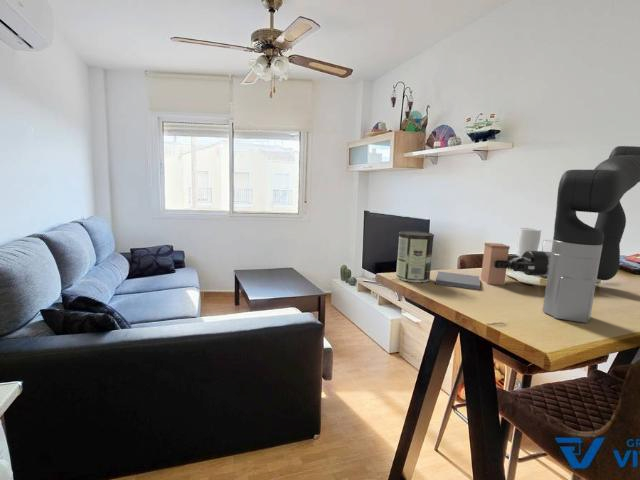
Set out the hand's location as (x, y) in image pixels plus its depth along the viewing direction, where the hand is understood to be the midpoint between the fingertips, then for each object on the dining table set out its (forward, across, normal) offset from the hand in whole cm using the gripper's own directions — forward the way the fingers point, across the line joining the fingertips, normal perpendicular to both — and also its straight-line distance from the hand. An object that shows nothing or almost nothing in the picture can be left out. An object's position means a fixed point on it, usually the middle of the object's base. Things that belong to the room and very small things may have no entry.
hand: (488, 260), depth 111 cm
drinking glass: (-21, -18, +7) cm, 29 cm away
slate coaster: (+10, +2, +6) cm, 12 cm away
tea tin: (-2, 0, +6) cm, 7 cm away
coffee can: (+23, +1, +7) cm, 24 cm away
